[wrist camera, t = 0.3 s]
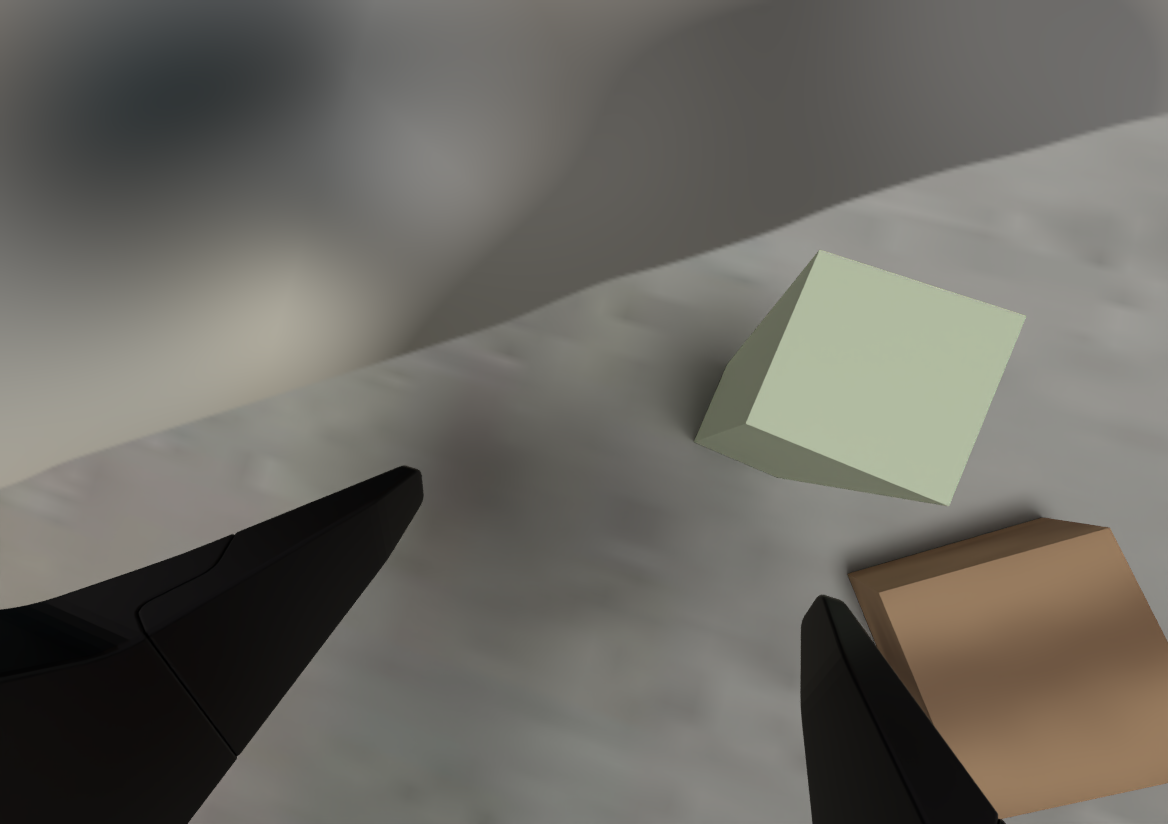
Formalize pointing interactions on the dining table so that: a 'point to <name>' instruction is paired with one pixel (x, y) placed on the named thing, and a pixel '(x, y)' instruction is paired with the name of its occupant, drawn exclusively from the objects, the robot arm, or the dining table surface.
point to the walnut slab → (1029, 660)
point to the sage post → (863, 383)
